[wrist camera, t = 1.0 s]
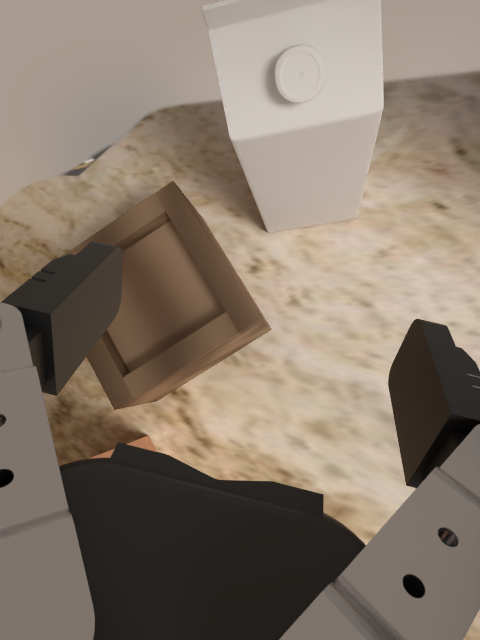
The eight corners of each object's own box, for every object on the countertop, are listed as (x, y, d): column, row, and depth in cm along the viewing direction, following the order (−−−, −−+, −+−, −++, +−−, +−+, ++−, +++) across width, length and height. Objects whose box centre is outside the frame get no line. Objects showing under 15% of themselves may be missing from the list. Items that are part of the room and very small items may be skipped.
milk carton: (257, 151, 37) (192, -70, 18) (344, 134, 36) (370, -121, 17) (267, 234, 36) (209, 90, 17) (357, 219, 35) (399, 48, 16)
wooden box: (202, 217, 37) (173, 180, 30) (271, 329, 35) (258, 319, 28) (95, 288, 38) (41, 270, 31) (156, 401, 36) (114, 409, 29)
